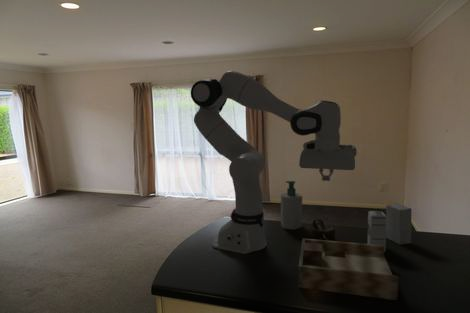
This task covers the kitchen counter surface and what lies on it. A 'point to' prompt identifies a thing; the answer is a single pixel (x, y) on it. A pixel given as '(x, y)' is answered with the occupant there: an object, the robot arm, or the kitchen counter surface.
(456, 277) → the kitchen counter surface
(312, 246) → the walnut block
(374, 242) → the syrup box
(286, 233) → the kitchen counter surface
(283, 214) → the soap bottle
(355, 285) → the tray
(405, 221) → the skincare box
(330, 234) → the kendama
